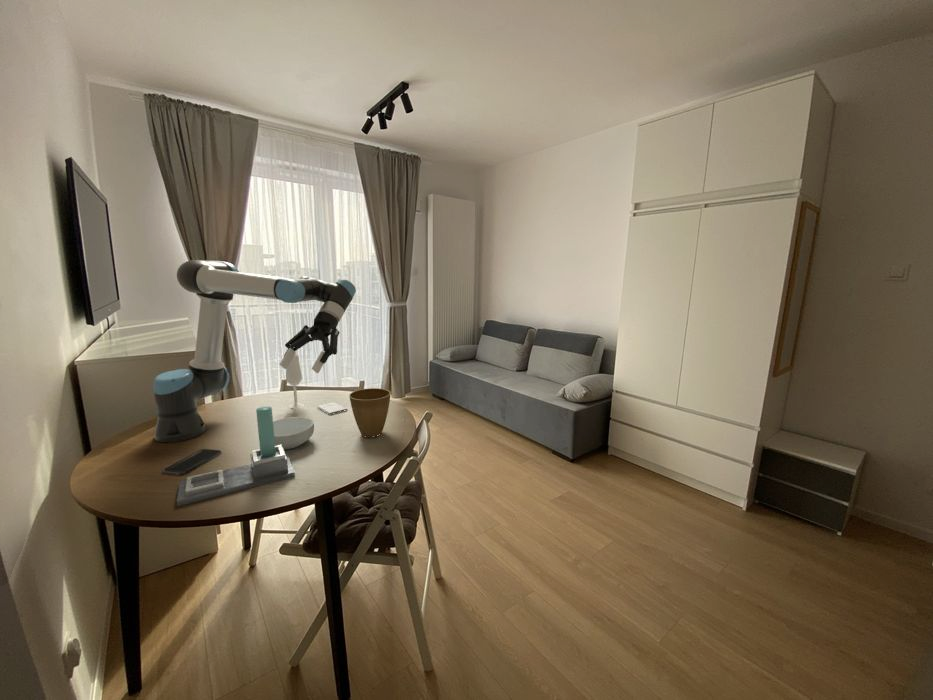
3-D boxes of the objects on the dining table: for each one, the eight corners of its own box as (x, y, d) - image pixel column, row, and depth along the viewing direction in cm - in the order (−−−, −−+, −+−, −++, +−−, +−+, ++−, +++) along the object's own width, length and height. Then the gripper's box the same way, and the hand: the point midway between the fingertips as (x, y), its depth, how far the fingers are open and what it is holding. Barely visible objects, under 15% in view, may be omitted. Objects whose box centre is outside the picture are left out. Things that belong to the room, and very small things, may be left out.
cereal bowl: (270, 436, 140) (268, 418, 139) (317, 432, 144) (316, 414, 143) (257, 457, 124) (255, 437, 123) (311, 452, 128) (310, 432, 127)
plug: (257, 458, 112) (253, 410, 109) (269, 452, 116) (264, 405, 113) (267, 460, 111) (263, 412, 108) (278, 454, 114) (274, 407, 111)
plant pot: (399, 434, 144) (398, 393, 141) (364, 446, 133) (362, 402, 130) (378, 423, 154) (376, 385, 151) (344, 433, 144) (341, 393, 141)
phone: (160, 470, 114) (202, 448, 128) (161, 474, 114) (202, 451, 128) (183, 473, 112) (223, 450, 127) (184, 476, 113) (223, 453, 127)
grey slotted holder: (177, 506, 98) (173, 482, 96) (181, 484, 108) (177, 463, 106) (294, 476, 113) (293, 455, 111) (288, 460, 122) (286, 440, 121)
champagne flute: (301, 403, 176) (297, 352, 172) (306, 406, 171) (302, 355, 167) (286, 406, 172) (281, 354, 167) (290, 410, 167) (286, 357, 162)
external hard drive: (329, 416, 162) (317, 408, 171) (347, 411, 168) (334, 404, 176) (329, 412, 162) (317, 405, 170) (347, 408, 167) (334, 401, 176)
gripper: (363, 326, 130) (335, 379, 119) (307, 322, 139) (277, 371, 128) (352, 311, 124) (322, 366, 113) (295, 308, 133) (262, 358, 123)
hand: (298, 368), depth 121 cm, fingers open, 13 cm apart
